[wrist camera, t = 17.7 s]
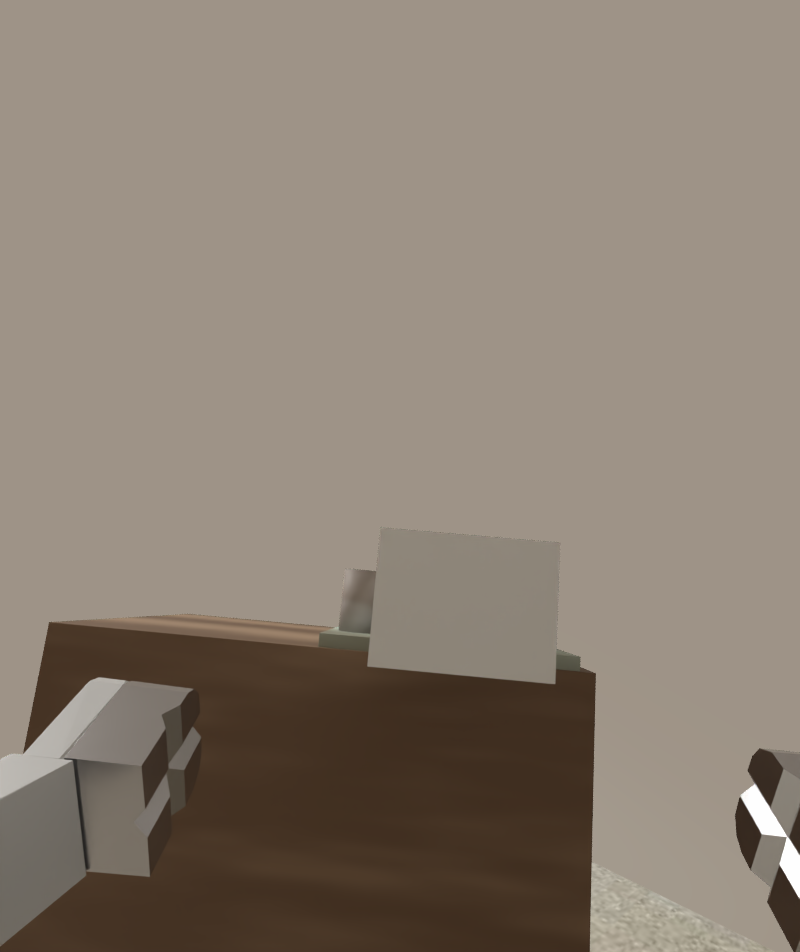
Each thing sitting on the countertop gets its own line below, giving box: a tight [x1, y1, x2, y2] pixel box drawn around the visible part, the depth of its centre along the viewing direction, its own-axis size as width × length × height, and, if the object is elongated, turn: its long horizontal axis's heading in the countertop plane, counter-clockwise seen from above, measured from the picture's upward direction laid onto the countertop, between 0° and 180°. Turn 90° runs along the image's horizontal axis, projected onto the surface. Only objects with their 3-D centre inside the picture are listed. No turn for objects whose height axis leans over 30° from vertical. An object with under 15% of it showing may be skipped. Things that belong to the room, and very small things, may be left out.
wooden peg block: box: [0, 569, 596, 952], centre depth 26 cm, size 14×20×29 cm
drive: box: [367, 527, 560, 684], centre depth 24 cm, size 22×4×3 cm, turn 178°
